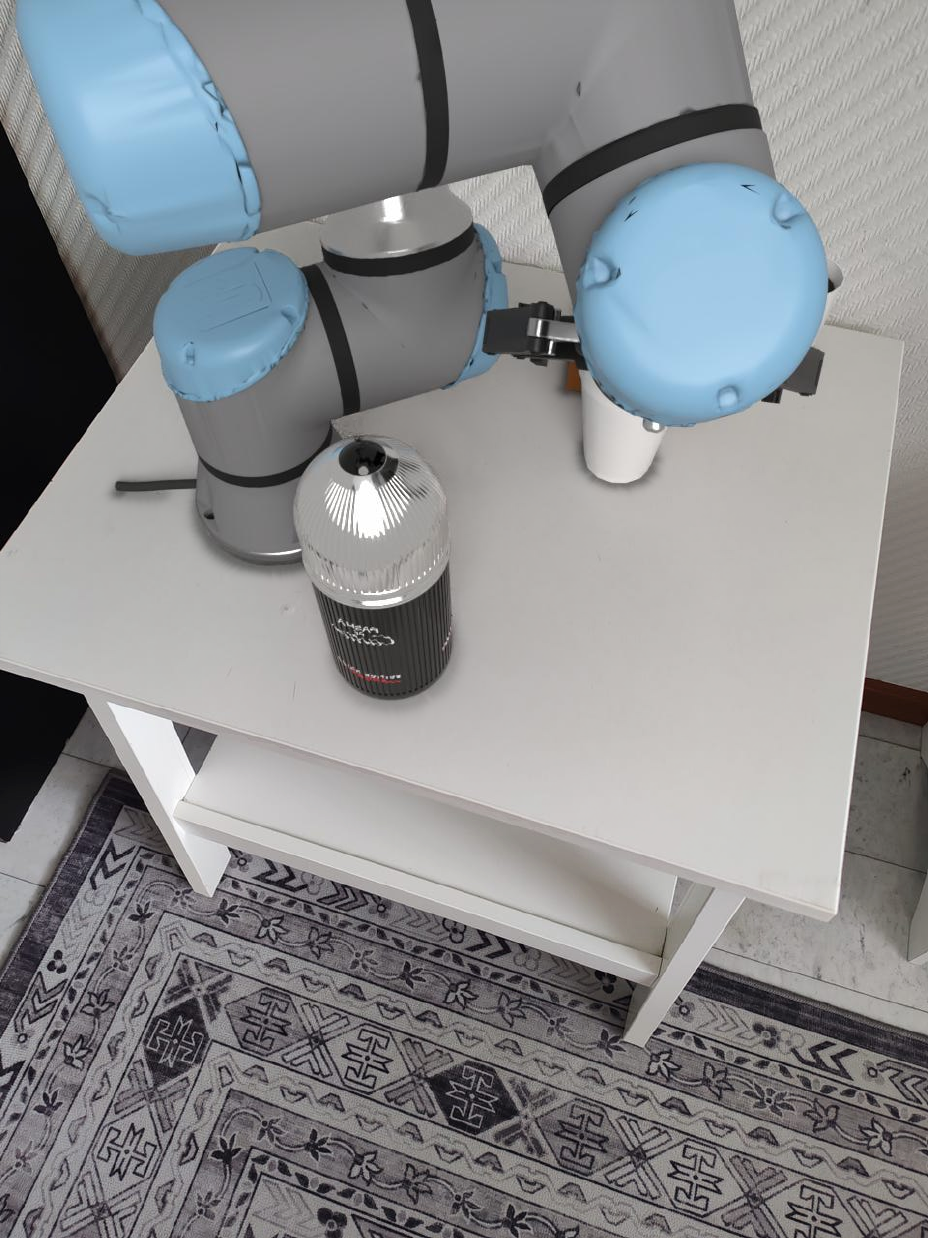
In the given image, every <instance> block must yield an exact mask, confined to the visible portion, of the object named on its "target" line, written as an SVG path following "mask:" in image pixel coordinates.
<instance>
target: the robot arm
mask: <svg viewBox="0 0 928 1238" xmlns="http://www.w3.org/2000/svg"><path fill="white" fill-rule="evenodd" d="M14 25H15V28H16V33H17V36H18V39H19V42H20V45H21V48H22V51H23V55H24V57H25V60H26V63H27V66H28V70H29V72H30V75H31V78H32V80H33V84H34V86H35V89H36V91H37V95H38V97H39V100H40V102H41V105H42V107H43V111H44V113H45V115H46V118H47V121H48V124H49V127H50V128H51V132H52V134H53V136H54V139H55V141H56V144H57V147H58V149H59V152H60V154H61V157H62V159H63V162H64V164H65V167H66V169H67V172H68V175H69V176H70V179H71V182H72V184H73V186H74V188H75V191H76V193H77V196H78V198H79V201H80V203H81V205H82V207H83V209H84V211H85V214H86V215H87V217H88V219H89V221H90V223H91V225H92V227H93V228H94V230H95V232H96V234H97V235H98V236H99V237H100V238H101V240H103V241H104V242H105V243H106V245H108V246H109V247H111V248H112V249H114V250H115V251H117V252H119V253H122V254H125V255H128V256H134V257H143V256H151V255H156V254H157V255H158V254H165V253H170V252H177V251H183V250H188V249H193V248H201V247H205V246H211V245H217V244H222V243H228V244H230V243H241V242H246V241H248V240H250V239H251V238H252V237H255V236H257V235H259V234H263V233H266V232H270V231H274V230H278V229H281V228H284V227H289V226H293V225H296V224H299V223H305V222H308V221H311V220H314V219H318V218H323V217H326V216H327V217H326V219H325V220H324V222H323V224H322V225H321V226H320V229H319V230H318V239H319V243H320V244H319V245H320V248H321V252H322V257H323V260H322V261H319V262H315V263H312V264H309V265H305V266H302V267H299V266H298V265H297V264H296V263H295V262H294V261H293V260H292V259H291V258H290V257H288V255H286V254H284V253H283V252H280V251H277V250H275V249H271V248H265V249H263V250H262V251H261V252H260V250H259V249H258V248H257V247H255V246H241V247H240V246H239V247H233V248H228V249H224V250H221V251H218V252H215V253H212V254H210V255H207V256H205V257H203V258H201V259H199V260H197V261H196V262H194V263H193V264H191V265H190V266H188V267H186V268H185V269H184V270H182V271H181V272H180V273H178V275H177V276H176V277H175V278H174V279H173V280H172V281H171V282H170V284H169V286H168V289H167V290H166V291H165V292H164V293H163V294H162V295H161V297H160V298H159V300H158V301H157V305H156V307H155V310H154V314H153V321H152V334H153V340H154V344H155V347H156V349H157V352H158V355H159V359H160V369H161V373H162V376H163V378H164V379H163V380H164V381H165V383H166V385H167V386H168V388H169V389H170V390H171V391H172V392H173V394H174V397H175V400H176V403H177V405H178V408H179V410H180V412H181V415H182V419H183V421H184V424H185V426H186V428H187V431H188V433H189V436H190V439H191V442H192V444H193V447H194V449H195V452H196V454H197V457H198V459H197V471H196V472H197V473H196V478H180V479H179V478H178V479H161V480H149V481H147V480H146V481H121V480H117V481H115V485H114V487H115V490H116V492H129V493H131V492H132V493H134V492H135V493H137V492H138V493H139V492H140V493H141V492H155V491H156V492H157V491H170V490H171V491H172V490H195V507H196V510H197V514H198V515H199V518H200V521H201V523H202V525H203V527H204V530H205V532H206V534H207V536H208V537H209V539H211V541H212V542H213V543H214V544H215V545H216V546H217V547H218V548H220V550H222V551H223V552H224V553H226V554H227V555H230V556H232V557H234V559H238V560H240V561H243V562H246V563H250V564H255V565H262V566H285V565H293V564H297V563H301V562H302V563H303V559H302V552H301V546H300V542H299V539H298V535H297V532H296V528H295V525H294V519H293V502H294V496H295V493H296V489H297V486H298V483H299V481H300V478H301V477H302V475H303V473H304V471H305V470H306V468H307V467H308V466H309V464H310V463H311V462H312V461H313V460H314V458H315V457H316V456H317V455H319V454H320V453H321V452H322V451H323V450H325V449H326V448H327V447H329V446H331V445H332V444H334V443H336V442H338V441H340V440H343V439H344V438H342V436H341V435H340V432H339V431H338V430H337V429H336V427H335V425H334V424H333V422H332V421H334V420H337V419H341V418H344V417H348V416H350V415H354V414H359V413H362V412H366V411H369V410H373V409H375V408H378V407H379V408H380V407H383V406H386V405H389V404H392V403H396V402H399V401H403V400H406V399H410V398H413V397H416V396H420V395H423V394H426V393H430V392H433V391H436V390H443V391H445V390H447V389H448V390H449V389H451V388H454V387H455V386H457V385H458V384H460V383H461V382H464V381H467V380H470V379H473V378H476V377H478V376H481V375H483V374H485V373H487V372H488V371H489V370H490V369H491V368H492V367H493V365H494V364H495V363H497V361H498V360H499V358H500V356H501V355H511V357H513V358H516V360H520V361H521V360H522V361H524V360H526V359H529V362H530V363H532V364H534V365H535V366H538V367H546V368H547V367H548V363H549V361H561V362H569V361H573V362H575V363H576V367H577V368H578V369H579V370H584V371H589V372H590V374H591V376H592V378H593V380H594V382H595V384H596V385H597V387H598V388H599V390H600V391H601V392H602V393H603V394H604V395H605V396H606V397H607V398H608V399H609V400H610V401H611V402H612V403H613V404H615V405H616V406H618V407H619V408H621V409H623V410H625V411H626V412H628V413H630V414H632V415H634V416H638V417H641V418H643V428H644V429H645V430H646V431H647V432H652V433H659V432H661V431H663V430H664V429H665V426H668V427H671V428H672V427H673V428H693V427H694V426H695V425H697V424H703V423H708V422H711V421H715V420H718V419H721V418H726V417H728V416H732V415H735V414H738V413H739V414H740V413H742V412H744V411H746V410H748V409H750V408H751V407H752V406H753V405H754V404H755V403H756V404H757V402H760V403H761V402H763V403H767V404H770V403H771V404H779V405H780V404H781V402H782V401H781V400H782V396H783V391H784V390H785V391H788V392H793V393H797V394H799V396H802V397H808V398H809V397H810V396H815V395H817V390H818V386H819V381H820V377H821V372H822V368H823V363H824V358H825V353H826V352H824V351H822V350H820V349H818V348H816V347H814V346H813V347H811V345H812V343H813V341H814V339H815V337H816V335H817V333H818V330H819V328H820V325H821V322H822V319H823V315H824V311H825V307H826V301H827V294H828V268H827V260H826V256H827V255H826V251H825V246H824V243H823V240H822V239H823V238H822V236H821V235H820V232H819V230H818V228H817V225H816V223H815V222H814V220H813V218H812V216H811V215H810V213H809V211H807V209H806V208H805V206H804V205H803V204H802V203H801V201H799V199H798V198H797V197H796V196H795V195H794V194H793V193H792V192H790V190H788V189H787V188H786V187H785V186H784V185H783V184H782V183H781V182H779V181H778V180H777V177H776V172H775V167H774V162H773V158H772V153H771V148H770V144H769V140H768V139H769V138H768V136H767V133H766V132H765V131H764V130H763V126H762V121H761V115H760V112H759V109H758V108H757V107H756V106H755V103H754V98H753V92H752V88H751V83H750V82H751V81H750V78H749V72H748V67H747V62H746V58H745V53H744V46H743V41H742V36H741V32H740V26H739V20H738V16H737V11H736V6H735V0H15V10H14ZM522 166H531V167H532V170H533V172H534V175H535V178H536V182H537V184H538V188H539V190H540V194H541V197H542V203H543V205H544V206H543V207H544V210H545V214H546V216H547V220H549V224H550V227H551V231H552V235H553V238H554V242H555V245H556V249H557V253H558V256H559V261H560V264H561V267H562V272H563V275H564V279H565V283H566V286H567V290H568V294H569V298H570V301H571V305H572V314H573V315H562V312H563V311H562V308H560V307H559V308H558V307H555V306H554V305H553V304H551V303H549V302H548V301H545V300H538V302H530V303H525V302H518V305H517V307H509V289H508V282H507V281H508V280H507V276H506V274H504V273H503V270H502V266H503V258H502V256H501V252H500V249H499V246H498V244H497V242H496V239H495V238H494V236H493V235H492V233H491V232H490V230H489V229H487V227H485V225H483V224H481V223H478V222H474V218H473V212H472V209H471V207H470V205H468V203H467V202H465V201H464V200H463V199H462V198H460V197H459V196H458V195H456V194H455V193H454V192H453V191H452V190H451V189H450V188H449V185H450V184H454V183H459V182H462V181H466V180H471V179H473V178H478V177H481V176H485V175H490V174H494V173H499V172H502V171H506V170H509V169H514V168H519V167H522Z"/></svg>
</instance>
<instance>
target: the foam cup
mask: <svg viewBox="0 0 928 1238" xmlns="http://www.w3.org/2000/svg"><path fill="white" fill-rule="evenodd" d="M579 375H580V378H581V388H582V392H581V412H582V413H581V415H582V435H583V436H582V439H583V440H582V441H583V458H584V461H585V464H586V468H587V469H588V470H589V471H590V472H591V473H592V474H593V475H594V476H595V477H596V478H598V479H601V480H603V481H606V482H609V483H611V484H612V483H613V484H628V483H630V482H633V481H637V480H639V479H641V478H642V477H643V475H645V474H646V473H647V472H648V471H649V467H651V465H652V463H653V461H654V459H655V456H656V454H657V452H658V450H659V448H660V445H661V443H662V441H663V439H664V437H665V435H666V433H667V430H668V428H669V426H665V429H664V430H663V431H661V432H659V433H652V432H647V431H646V430H645V429H644V428H643V418H641V417H638V416H634V415H632V414H630V413H628V412H626V411H625V410H623V409H621V408H619V407H618V406H616V405H615V404H613V403H612V402H611V401H610V400H609V399H608V398H607V397H606V396H605V395H604V394H603V393H602V392H601V391H600V390H599V388H598V387H597V385H596V384H595V382H594V380H593V378H592V376H591V374H590V372H589V371H584V370H579Z"/></svg>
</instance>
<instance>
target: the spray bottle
mask: <svg viewBox="0 0 928 1238" xmlns="http://www.w3.org/2000/svg"><path fill="white" fill-rule="evenodd" d="M342 439H343V440H340V441H338V442H336V443H334V444H332V445H331V446H329V447H327V448H326V449H325V450H323V451H322V452H321V453H320V454H319V455H317V456H316V457H315V458H314V460H313V461H312V462H311V463H310V464H309V466H308V467H307V468H306V470H305V471H304V473H303V475H302V477H301V478H300V481H299V483H298V486H297V489H296V493H295V496H294V502H293V519H294V525H295V528H296V532H297V535H298V539H299V542H300V546H301V552H302V559H303V561H302V564H303V566H304V569H305V572H306V574H307V576H308V577H309V579H310V582H311V585H312V588H313V593H314V595H315V600H316V603H317V607H318V610H319V613H320V616H321V620H322V624H323V628H324V630H325V634H326V638H327V642H328V645H329V647H330V651H331V655H332V658H333V662H334V666H335V668H336V669H337V671H338V673H339V675H340V677H341V678H342V679H343V680H344V681H345V682H346V684H347V685H348V686H349V687H351V688H352V689H353V690H354V691H355V692H357V693H359V694H362V695H363V696H366V697H368V698H371V699H375V700H379V701H388V702H389V701H402V700H405V699H410V698H413V697H415V696H419V695H420V694H422V693H424V692H426V691H427V690H429V689H430V688H432V687H433V686H434V685H435V684H436V683H437V682H438V681H439V680H440V679H441V678H442V676H443V675H444V674H445V672H446V670H447V669H448V667H449V664H450V662H451V658H452V654H453V647H454V642H453V641H454V640H453V618H452V616H453V615H452V598H451V597H452V596H451V573H450V571H451V570H450V556H451V548H452V537H451V531H450V527H449V515H448V513H449V512H448V497H447V493H446V489H445V485H444V484H443V481H442V479H441V477H440V475H439V474H438V472H437V471H436V469H435V468H434V466H433V465H432V464H431V463H430V461H429V460H428V459H427V458H426V457H425V456H424V455H423V454H422V453H420V452H419V451H418V450H416V449H415V448H414V447H413V446H411V445H409V444H407V443H405V442H404V441H401V440H398V439H396V438H393V437H389V436H385V435H379V434H364V435H363V434H359V435H353V436H349V437H346V438H342Z"/></svg>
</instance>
